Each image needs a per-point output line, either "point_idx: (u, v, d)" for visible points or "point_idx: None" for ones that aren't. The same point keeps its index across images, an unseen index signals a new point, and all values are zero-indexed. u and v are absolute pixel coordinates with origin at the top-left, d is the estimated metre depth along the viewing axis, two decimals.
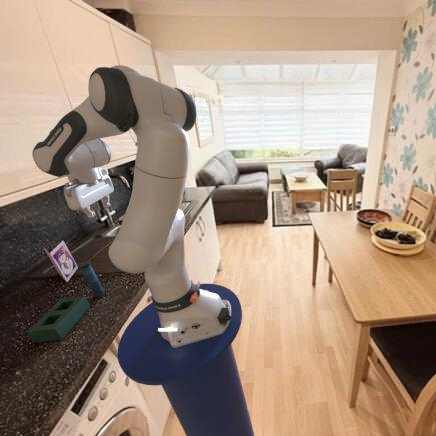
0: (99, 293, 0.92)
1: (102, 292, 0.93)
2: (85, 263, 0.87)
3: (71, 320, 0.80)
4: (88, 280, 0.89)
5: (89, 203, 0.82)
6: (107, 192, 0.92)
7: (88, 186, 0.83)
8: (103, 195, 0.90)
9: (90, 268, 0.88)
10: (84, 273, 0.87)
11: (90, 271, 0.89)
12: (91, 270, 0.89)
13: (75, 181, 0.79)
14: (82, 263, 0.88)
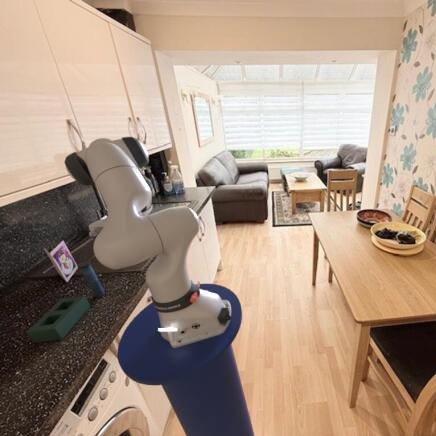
0: (99, 293, 0.92)
1: (102, 292, 0.93)
2: (85, 263, 0.87)
3: (71, 320, 0.80)
4: (88, 280, 0.89)
5: (97, 224, 1.00)
6: None
7: None
8: None
9: (90, 268, 0.88)
10: (84, 273, 0.87)
11: (90, 271, 0.89)
12: (91, 270, 0.89)
13: None
14: (82, 263, 0.88)
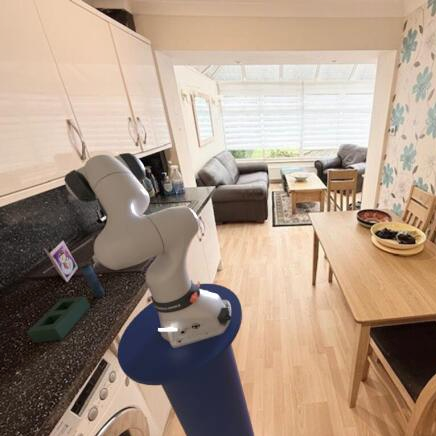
0: (99, 293, 0.92)
1: (102, 292, 0.93)
2: (85, 263, 0.87)
3: (71, 320, 0.80)
4: (88, 280, 0.89)
5: None
6: None
7: None
8: None
9: (90, 268, 0.88)
10: (84, 273, 0.87)
11: (90, 271, 0.89)
12: (91, 270, 0.89)
13: None
14: (82, 263, 0.88)
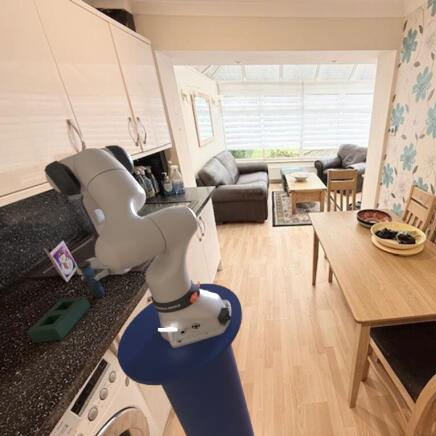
0: (99, 293, 0.92)
1: (102, 292, 0.93)
2: (85, 263, 0.87)
3: (71, 320, 0.80)
4: (88, 280, 0.89)
5: None
6: None
7: None
8: (104, 266, 0.93)
9: (90, 268, 0.88)
10: (84, 273, 0.87)
11: (90, 271, 0.89)
12: (91, 270, 0.89)
13: None
14: (82, 263, 0.88)
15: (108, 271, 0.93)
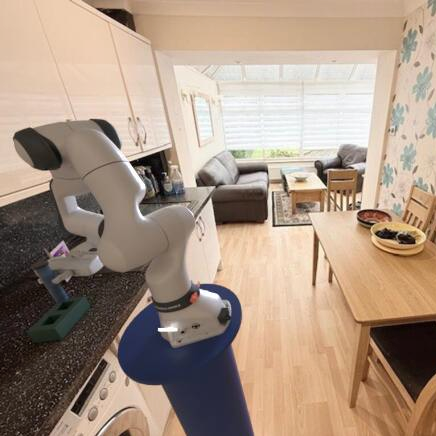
0: (60, 298, 0.79)
1: (64, 297, 0.80)
2: (41, 263, 0.74)
3: (71, 320, 0.80)
4: (46, 283, 0.75)
5: None
6: (75, 266, 0.80)
7: (66, 257, 0.85)
8: (67, 266, 0.80)
9: (48, 269, 0.75)
10: (40, 275, 0.74)
11: (48, 272, 0.75)
12: (49, 271, 0.75)
13: None
14: (38, 263, 0.74)
15: (71, 272, 0.80)
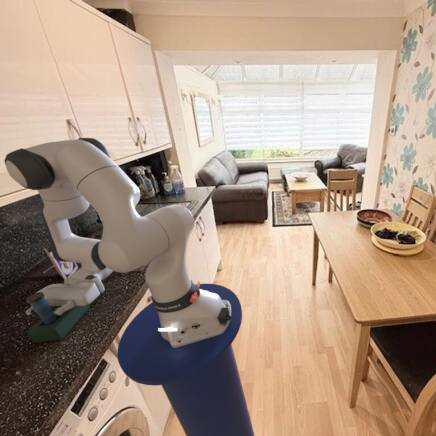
0: None
1: None
2: (36, 296, 0.73)
3: (71, 320, 0.80)
4: (41, 316, 0.74)
5: None
6: (71, 296, 0.79)
7: (62, 285, 0.84)
8: (63, 296, 0.79)
9: (43, 301, 0.74)
10: (35, 308, 0.73)
11: (43, 304, 0.74)
12: (44, 303, 0.74)
13: None
14: (33, 295, 0.73)
15: None
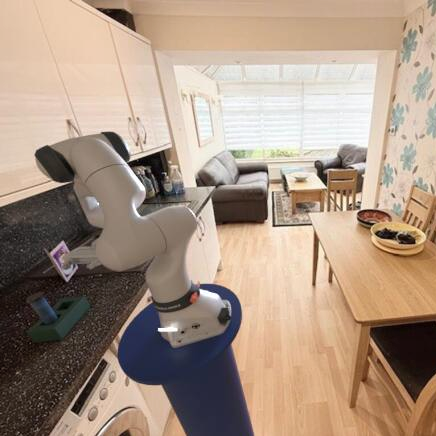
0: None
1: None
2: (36, 296, 0.73)
3: (71, 320, 0.80)
4: (41, 316, 0.74)
5: (72, 255, 0.90)
6: None
7: (90, 247, 0.95)
8: (92, 255, 0.90)
9: (43, 301, 0.74)
10: (35, 308, 0.73)
11: (43, 304, 0.74)
12: (44, 303, 0.74)
13: None
14: (33, 295, 0.73)
15: None
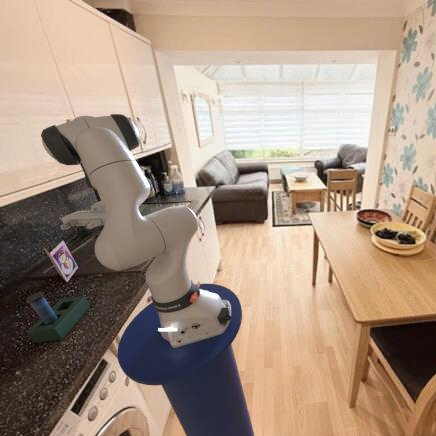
0: None
1: None
2: (36, 296, 0.73)
3: (71, 320, 0.80)
4: (41, 316, 0.74)
5: (71, 217, 0.90)
6: (99, 215, 0.90)
7: (89, 211, 0.95)
8: (91, 216, 0.90)
9: (43, 301, 0.74)
10: (35, 308, 0.73)
11: (43, 304, 0.74)
12: (44, 303, 0.74)
13: None
14: (33, 295, 0.73)
15: None
